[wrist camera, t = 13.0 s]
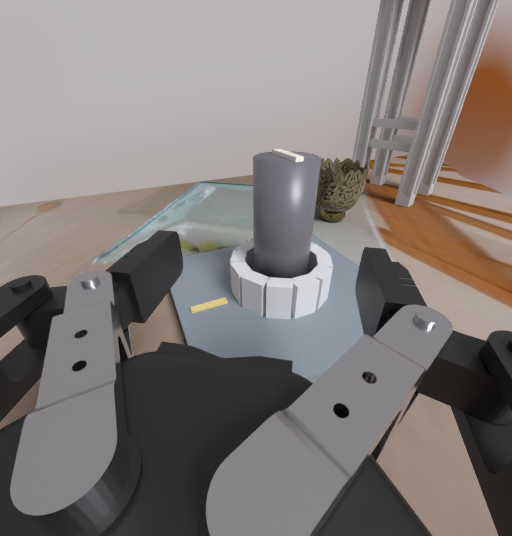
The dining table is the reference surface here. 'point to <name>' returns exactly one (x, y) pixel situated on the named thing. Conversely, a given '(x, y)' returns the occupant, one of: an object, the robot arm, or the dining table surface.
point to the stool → (436, 97)
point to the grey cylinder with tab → (284, 211)
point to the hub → (270, 307)
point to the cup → (339, 187)
